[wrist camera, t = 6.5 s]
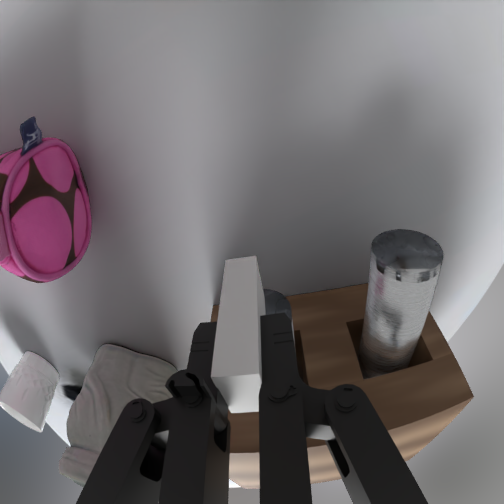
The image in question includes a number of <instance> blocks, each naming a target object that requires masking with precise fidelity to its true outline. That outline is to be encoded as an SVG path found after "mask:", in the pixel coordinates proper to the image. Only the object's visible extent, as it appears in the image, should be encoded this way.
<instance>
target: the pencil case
mask: <svg viewBox="0 0 504 504" xmlns="http://www.w3.org/2000/svg"><path fill="white" fill-rule="evenodd" d="M20 132H21V135H22V140H23V148H19V149H16V150H13V151H10V152H7V153H4V154H2V155H0V265H1V266H2V267H3V268H4V269H6V270H7V271H9V272H11V273H13V274H15V275H17V276H19V277H21V278H23V279H26V280H28V281H32V282H36V283H44V282H49V281H53V280H55V279H58V278H60V277H62V276H63V275H65V274H66V273H68V272H69V271H71V270H72V269H73V268H74V267H75V266H76V265H77V264H78V263H79V262H80V260H81V259H82V257H83V256H84V254H85V252H86V250H87V248H88V245H89V242H90V237H91V227H92V218H91V211H90V203H89V195H88V190H87V186H86V183H85V181H84V178H83V175H82V172H81V169H80V167H79V164H78V161H77V159H76V157H75V155H74V153H73V151H72V150H71V148H70V147H69V146H68V145H67V144H66V143H65V142H63V141H62V140H60V139H56V138H42V131H41V130H40V128H39V127H38V126H37V124H36V118H35V117H31V118H30V119H28V120H26V121H25V122H24V123H22V124H21V126H20Z"/></svg>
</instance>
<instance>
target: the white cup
mask: <svg viewBox="0 0 504 504" xmlns="http://www.w3.org/2000/svg"><path fill="white" fill-rule="evenodd" d="M58 381H59V373H58V372H57V371H56V369H55V368H54V367H53V366H52V365H51V364H50V363H49V362H48V361H46V360H45V359H44V358H42V357H41V356H39V355H37V354H35V353H33V352H29V351H26V352H25V354H24V355H23V357H22V358H21V360H20V361H19V363H18V364H17V365H16V366H15V368H14V370H13V371H12V373H11V374H10V376H9V378H8V379H7V381H6V383H5V385H4V387H3V388H2V390H1V392H0V406H1V407H2V408H3V409H4V410H5V411H6V412H8V413H9V414H10V415H11V416H13V417H14V418H15V419H17V420H18V421H20V422H21V423H23V424H24V425H26V426H28V427H29V428H31V429H33V430H35V431H38V432H42V431H43V428H44V424H45V421H46V418H47V415H48V412H49V409H50V406H51V402H52V399H53V396H54V392H55V389H56V386H57V384H58Z"/></svg>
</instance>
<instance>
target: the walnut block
mask: <svg viewBox="0 0 504 504" xmlns="http://www.w3.org/2000/svg"><path fill="white" fill-rule="evenodd" d="M367 292H368V283H366V284H360V285H355V286H349V287H343V288H337V289H331V290H325V291H319V292H313V293H306V294H299V295H293V296H286V298H287V300H288V301H289V303H290V305H291V311H292V320H293V330H294V339H295V349H296V359H297V367H298V373H299V377H300V378H301V380H302V381H303V382H304V383H305V384H306V385H308V386H310V387H313V388H317V389H325V390H332V389H333V388H335V387H336V386H339V385H343V384H353V385H355V386H358V387H360V388H361V389H362V390H363V391H364V392H365V393H366V395H367V397H368V398H369V400H370V402H371V403H372V405H373V407H374V409H375V410H376V412H377V414H378V415H379V417H380V419H381V420H382V422H383V424H384V426H385V427H386V429H387V431H388V433H389V434H390V436H391V438H392V439H393V441H394V443H395V445H396V446H397V448H398V450H399V452H400V454H401V455H402V457H403V459H404V461H408V460H409V459H411V458H412V457H413V456H414V455H415V454H417V453H418V452H419V451H420V450H422V449H423V448H424V447H425V446H426V445H427V444H428V443H429V442H431V441H432V440H433V439H434V438H435V437H436V436H437V435H438V434H439V433H440V432H441V431H442V430H443V429H444V428H445V427H446V426H447V425H448V424H449V423H450V422H451V421H452V420H453V419H454V418H455V417H456V416H457V415H458V414H459V413H460V412H461V411H462V410H463V408H464V407H465V406H466V405H467V404H468V403H469V402H470V401H471V399H472V398H473V397H474V396H473V394H472V391H471V390H470V387H469V385H468V383H467V381H466V378H465V377H464V374H463V372H462V370H461V368H460V366H459V364H458V362H457V360H456V358H455V357H454V355H453V352H452V351H451V349H450V347H449V345H448V343H447V341H446V339H445V338H444V336H443V334H442V332H441V330H440V329H439V327H438V325H437V324H436V322H435V320H434V318H433V317H432V315H431V313H430V312H429V311H428V314H427V317H426V320H425V323H424V326H423V329H422V332H421V334H420V337H419V340H418V342H417V345H416V348H415V350H414V353H413V355H412V357H411V360H410V362H409V365H408V367H407V368H406V369H403V370H399V371H396V372H392V373H389V374H385V375H381V376H377V377H373V378H369V379H365V380H364V379H363V376H362V372H361V369H360V366H359V362H358V359H357V358H358V353H359V347H360V342H361V336H362V329H363V323H364V316H365V309H366V301H367ZM218 313H219V305H214V306H213V309H212V316H211V322H216V321H218ZM228 420H229V421H230V426H231V433H230V460H229V479H230V480H232V481H233V482H235V483H236V484H238V485H239V486H241V487H243V488H244V489H256V488H260V468H259V412H244V413H231V412H230V410H229V409H228ZM306 441H307V451H308V461H309V472H310V483H311V484H314V483H321V482H327V481H332V480H338V479H342V478H341V476H340V473H339V471H338V469H337V467H336V465H335V462H334V460H333V458H332V456H331V454H330V451H329V449H328V447H327V445H326V443H325V440H321V439H314V438H307V437H306Z"/></svg>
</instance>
